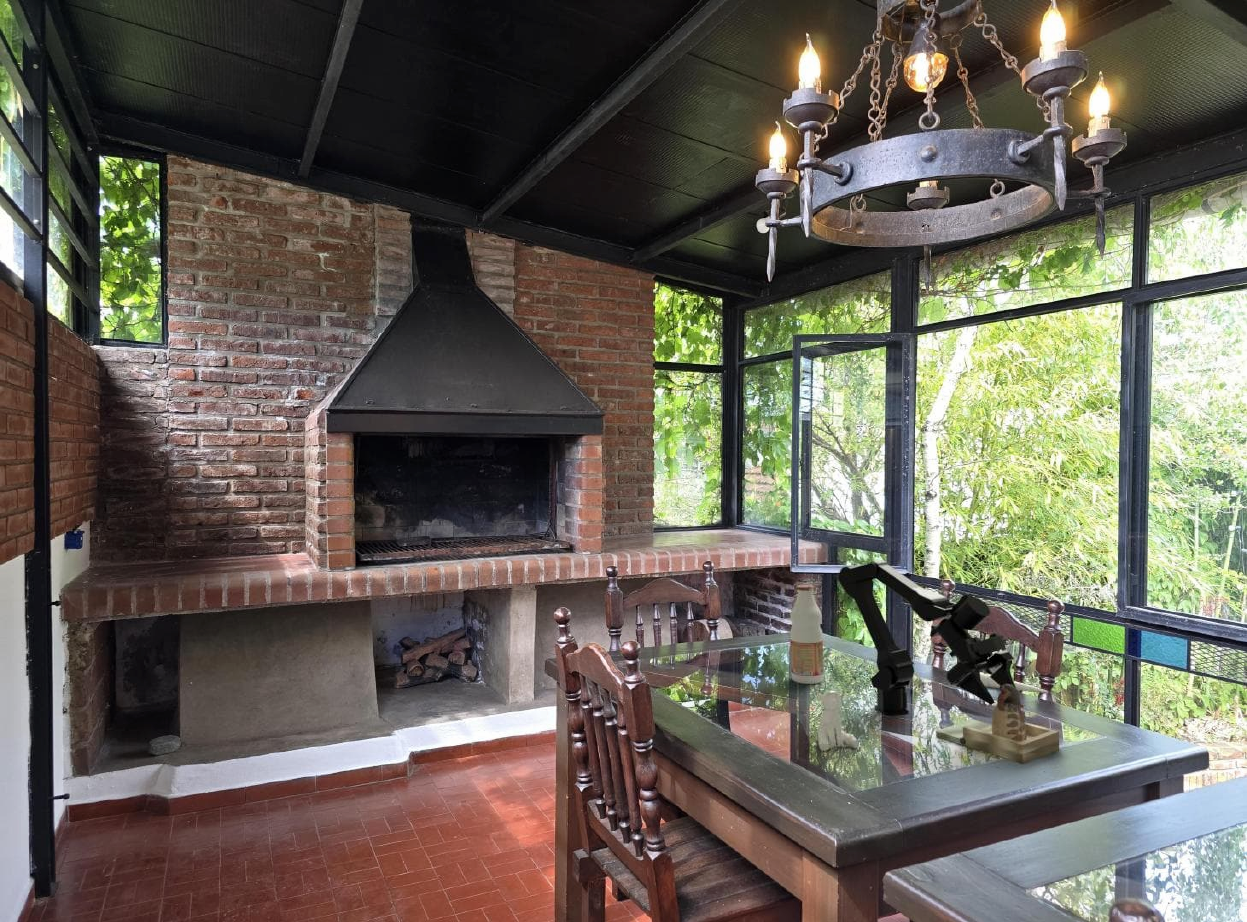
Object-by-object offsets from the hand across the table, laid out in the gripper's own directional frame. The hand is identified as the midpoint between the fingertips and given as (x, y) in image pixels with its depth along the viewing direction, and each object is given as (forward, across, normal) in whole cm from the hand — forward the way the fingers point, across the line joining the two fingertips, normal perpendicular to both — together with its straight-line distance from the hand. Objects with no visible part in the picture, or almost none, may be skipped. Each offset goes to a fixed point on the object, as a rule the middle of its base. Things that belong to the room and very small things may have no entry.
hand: (1005, 699), depth 175 cm
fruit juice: (-38, +4, +53) cm, 65 cm away
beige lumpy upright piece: (-9, -30, +24) cm, 40 cm away
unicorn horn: (-12, +41, +27) cm, 50 cm away
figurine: (+7, 0, +5) cm, 9 cm away
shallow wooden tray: (+6, 0, +9) cm, 11 cm away
